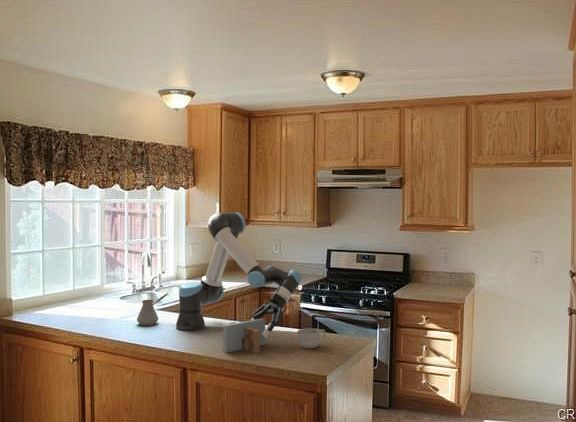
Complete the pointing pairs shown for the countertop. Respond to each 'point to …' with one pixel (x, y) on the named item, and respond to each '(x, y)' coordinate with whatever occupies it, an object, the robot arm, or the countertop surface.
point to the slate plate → (240, 334)
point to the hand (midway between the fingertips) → (255, 333)
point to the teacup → (310, 337)
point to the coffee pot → (148, 313)
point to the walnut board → (251, 339)
